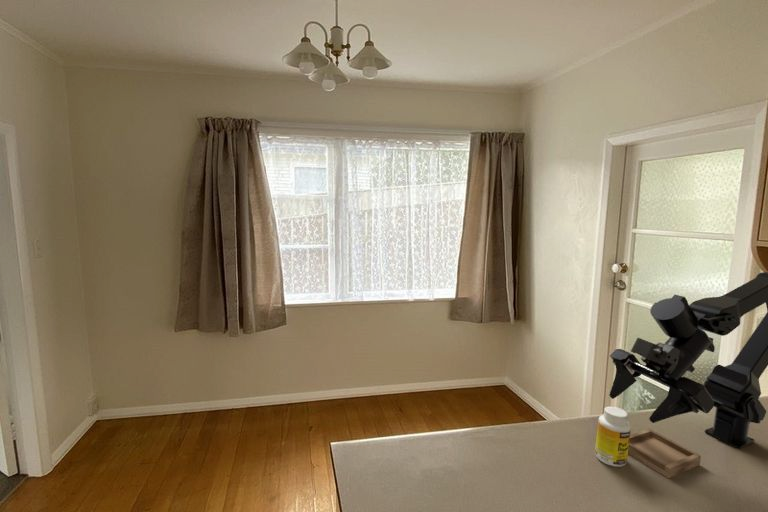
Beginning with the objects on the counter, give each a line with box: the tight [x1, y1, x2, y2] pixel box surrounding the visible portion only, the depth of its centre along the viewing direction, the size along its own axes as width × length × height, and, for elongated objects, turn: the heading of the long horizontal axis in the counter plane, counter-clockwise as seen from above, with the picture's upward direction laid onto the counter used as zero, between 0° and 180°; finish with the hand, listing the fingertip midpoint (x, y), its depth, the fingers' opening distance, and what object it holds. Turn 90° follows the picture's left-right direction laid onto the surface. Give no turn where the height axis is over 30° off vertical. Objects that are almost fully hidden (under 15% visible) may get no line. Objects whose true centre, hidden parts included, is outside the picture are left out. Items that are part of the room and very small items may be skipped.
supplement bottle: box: [594, 406, 632, 468], centre depth 77 cm, size 6×6×10 cm
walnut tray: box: [628, 428, 702, 479], centre depth 79 cm, size 10×10×2 cm
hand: (629, 408), depth 78 cm, fingers open, 9 cm apart
